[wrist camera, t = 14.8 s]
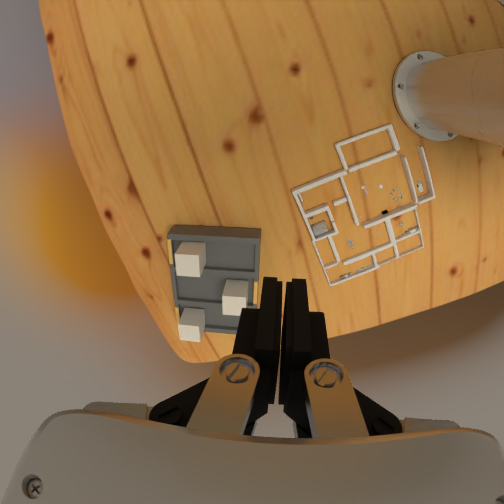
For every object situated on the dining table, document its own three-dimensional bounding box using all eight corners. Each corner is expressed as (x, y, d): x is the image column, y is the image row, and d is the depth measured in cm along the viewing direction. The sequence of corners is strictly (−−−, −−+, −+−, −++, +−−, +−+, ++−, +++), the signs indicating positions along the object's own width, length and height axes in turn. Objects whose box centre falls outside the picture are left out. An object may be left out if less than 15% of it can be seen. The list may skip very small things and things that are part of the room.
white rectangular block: (205, 241, 39) (198, 255, 35) (206, 261, 40) (199, 277, 37) (183, 240, 39) (174, 253, 35) (184, 260, 40) (176, 275, 37)
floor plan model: (390, 74, 30) (396, 72, 29) (438, 238, 40) (443, 243, 38) (258, 122, 35) (257, 123, 33) (329, 282, 44) (331, 289, 43)
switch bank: (261, 228, 41) (259, 239, 38) (256, 322, 48) (255, 336, 45) (174, 224, 41) (166, 234, 38) (183, 315, 48) (178, 329, 45)
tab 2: (204, 309, 44) (198, 326, 40) (205, 324, 45) (200, 342, 42) (184, 307, 44) (177, 324, 40) (186, 322, 45) (180, 339, 42)
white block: (248, 280, 41) (246, 297, 38) (248, 298, 42) (245, 316, 39) (226, 279, 41) (222, 295, 38) (226, 297, 43) (222, 314, 39)
